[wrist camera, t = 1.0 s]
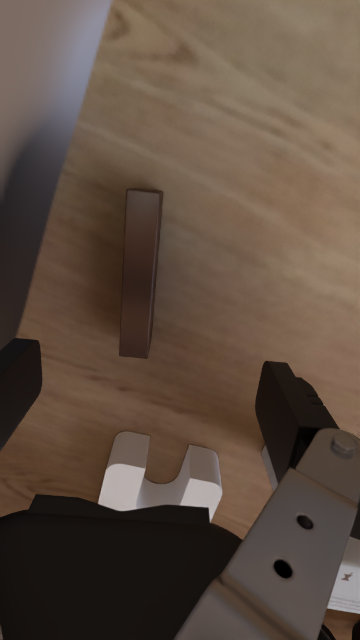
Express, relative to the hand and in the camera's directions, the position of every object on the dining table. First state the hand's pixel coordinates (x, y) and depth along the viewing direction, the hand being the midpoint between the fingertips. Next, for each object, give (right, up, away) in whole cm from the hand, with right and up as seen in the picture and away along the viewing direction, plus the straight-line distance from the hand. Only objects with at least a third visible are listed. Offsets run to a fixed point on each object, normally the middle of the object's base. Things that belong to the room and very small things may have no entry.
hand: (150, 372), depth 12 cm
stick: (-2, +5, +12) cm, 13 cm away
